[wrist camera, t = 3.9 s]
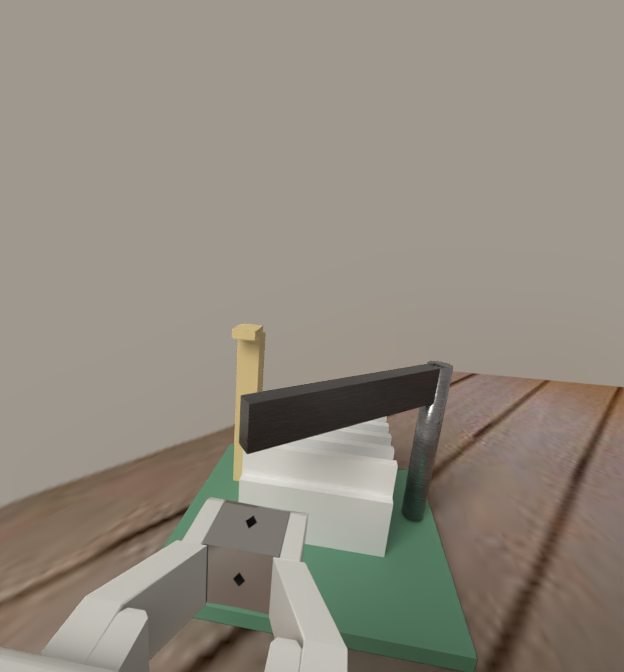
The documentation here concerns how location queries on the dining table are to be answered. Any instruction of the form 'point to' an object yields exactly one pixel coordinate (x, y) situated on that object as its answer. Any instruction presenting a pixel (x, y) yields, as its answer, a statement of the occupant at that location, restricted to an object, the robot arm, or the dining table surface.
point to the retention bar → (355, 416)
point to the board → (369, 586)
